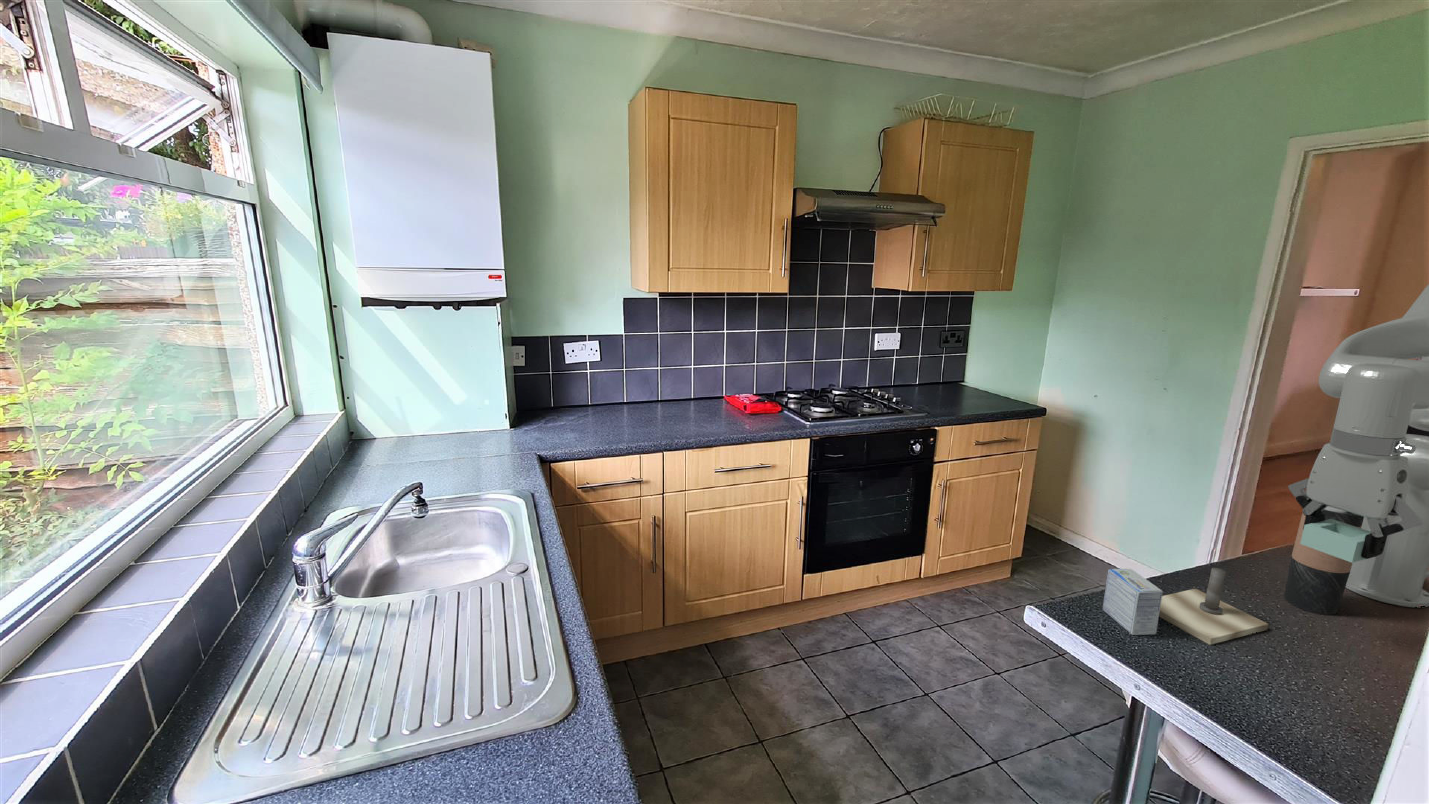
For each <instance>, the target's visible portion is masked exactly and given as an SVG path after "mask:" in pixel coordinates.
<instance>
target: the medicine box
mask: <svg viewBox="0 0 1429 804" xmlns="http://www.w3.org/2000/svg"><path fill="white" fill-rule="evenodd" d="M1105 583H1106V584H1105V588H1104V589H1105V591H1104V597H1103V603H1102V611H1104V612H1105V613H1106V614H1107V615H1108V616H1110V618H1112V619H1113V620H1114V621H1115V622H1117V623H1118V624H1119V625H1120V626H1121V627H1123V628H1124V629H1125V630H1126V631H1127V632H1128V633H1129V634H1130V635H1131V636H1148V635H1156V634H1157V630H1158V624H1159V612H1160V606H1161V600H1162V596H1163V590H1162V589H1160V588H1159V587H1157V585H1155V584H1154V583H1152V582H1151V581H1149V580H1148V579H1146V578H1145V577H1143V576H1142V575H1141V574H1140V573H1138V572H1137V571H1135V570H1134V569H1132V568H1109V569H1108V571H1107V577H1106V582H1105Z"/></svg>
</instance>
